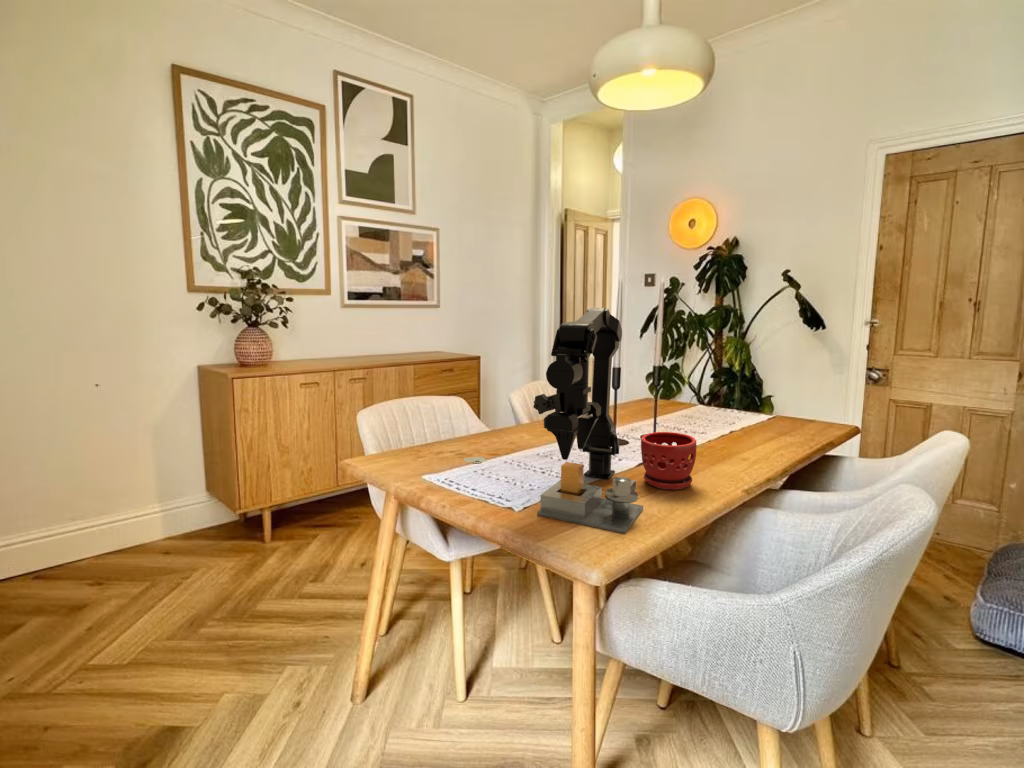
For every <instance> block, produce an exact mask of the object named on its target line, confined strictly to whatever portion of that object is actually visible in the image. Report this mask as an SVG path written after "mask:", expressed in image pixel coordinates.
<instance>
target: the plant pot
mask: <svg viewBox="0 0 1024 768" xmlns="http://www.w3.org/2000/svg"><path fill="white" fill-rule="evenodd" d="M673 443H675V444H676V445H673ZM640 452H641V453H640V454H641V460H642V465H643V468H644V470H645V472H644V473H643V478H644V480H645V482H646V483H647V484H649V485H651V486H652V487H655V488H657V489H662V490H677V491H678V490H679V491H680V490H682V489H684V488H687V487H688V486H690V485H691V483H692V482H693V477H692V476H691V473H692V472H693V469H694V466H695V463H696V456H697V439H696V438H695V437H693V436H691V435H689V434H685V433H680V432H675V431H674V432H672V431H657V432H655V431H654V432H649V433H646V434H644V435H642V436H641V438H640Z"/></svg>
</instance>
